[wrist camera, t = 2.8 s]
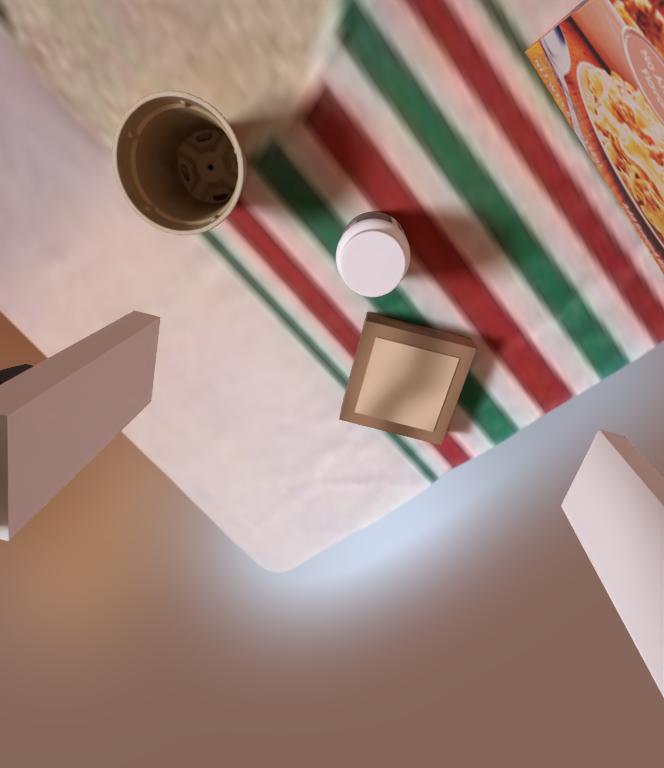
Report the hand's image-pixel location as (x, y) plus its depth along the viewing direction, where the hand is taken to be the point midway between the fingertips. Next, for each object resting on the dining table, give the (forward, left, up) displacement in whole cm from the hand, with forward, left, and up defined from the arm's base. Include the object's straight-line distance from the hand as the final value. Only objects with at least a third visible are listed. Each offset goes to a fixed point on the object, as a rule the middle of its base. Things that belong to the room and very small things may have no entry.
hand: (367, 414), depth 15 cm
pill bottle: (0, 0, -34) cm, 34 cm away
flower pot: (-15, +3, -34) cm, 37 cm away
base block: (+6, -11, -33) cm, 35 cm away
